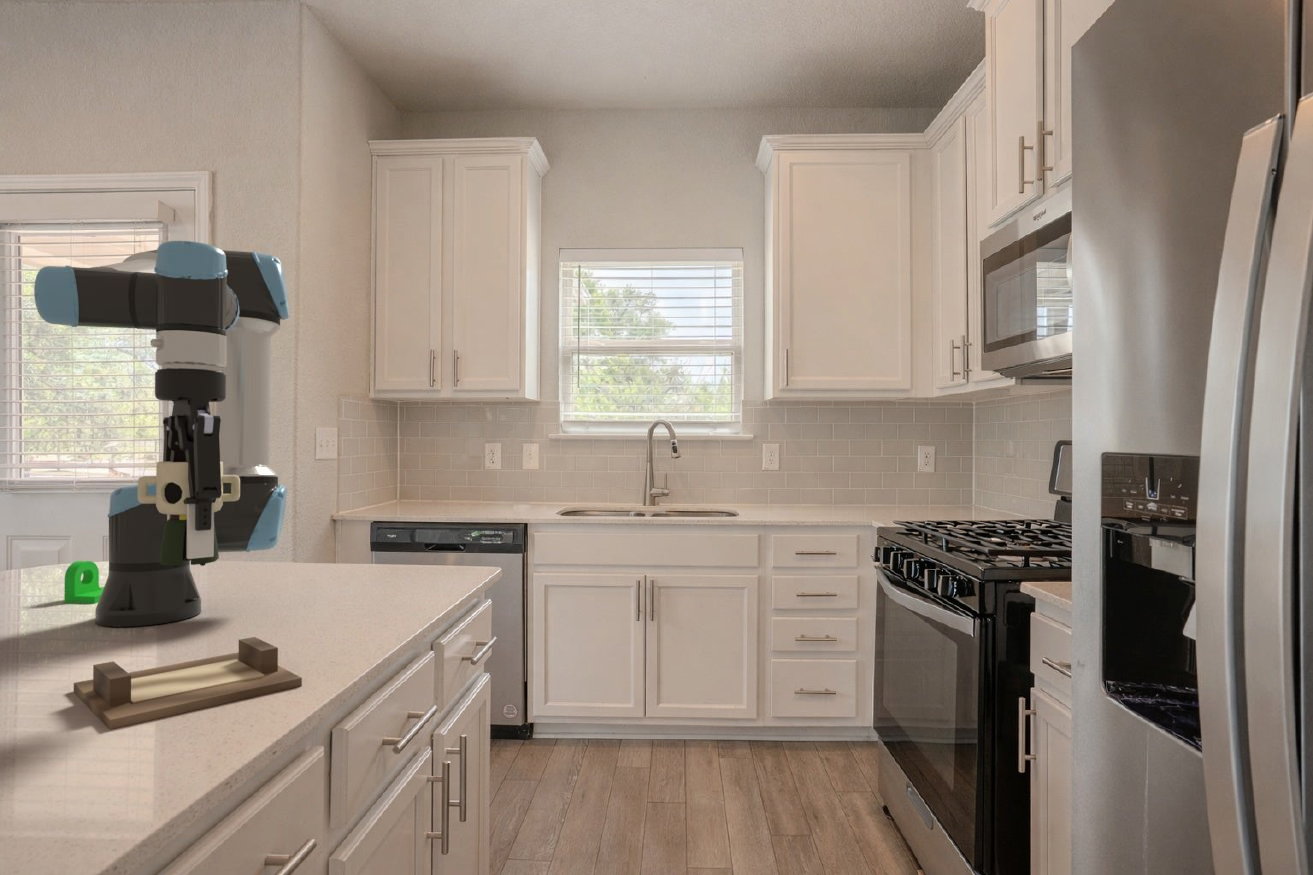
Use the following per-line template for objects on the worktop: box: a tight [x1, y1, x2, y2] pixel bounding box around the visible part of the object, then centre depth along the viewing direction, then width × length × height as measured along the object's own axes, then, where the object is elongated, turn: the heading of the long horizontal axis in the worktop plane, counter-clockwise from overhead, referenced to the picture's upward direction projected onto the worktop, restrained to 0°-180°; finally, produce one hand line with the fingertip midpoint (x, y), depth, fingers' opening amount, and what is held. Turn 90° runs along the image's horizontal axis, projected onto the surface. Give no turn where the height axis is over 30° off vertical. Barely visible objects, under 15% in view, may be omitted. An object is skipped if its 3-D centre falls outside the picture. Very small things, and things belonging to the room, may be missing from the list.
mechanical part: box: [63, 560, 104, 605], centre depth 147 cm, size 12×6×8 cm, turn 175°
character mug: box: [137, 461, 240, 567], centre depth 95 cm, size 11×7×13 cm, turn 116°
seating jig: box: [73, 636, 303, 730], centre depth 95 cm, size 18×20×4 cm
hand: (189, 553), depth 95 cm, fingers closed on character mug, 7 cm apart
